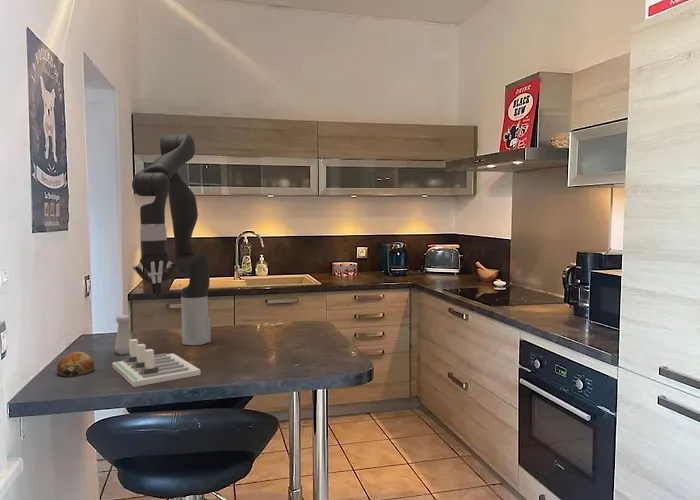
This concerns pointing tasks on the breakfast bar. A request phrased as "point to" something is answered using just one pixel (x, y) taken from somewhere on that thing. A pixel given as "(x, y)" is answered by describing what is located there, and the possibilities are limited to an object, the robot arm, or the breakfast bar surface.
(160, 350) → the breakfast bar surface
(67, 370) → the bread roll
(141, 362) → the breaker
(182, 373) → the panel
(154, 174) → the robot arm
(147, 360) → the breaker
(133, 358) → the breaker
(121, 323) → the salt shaker
